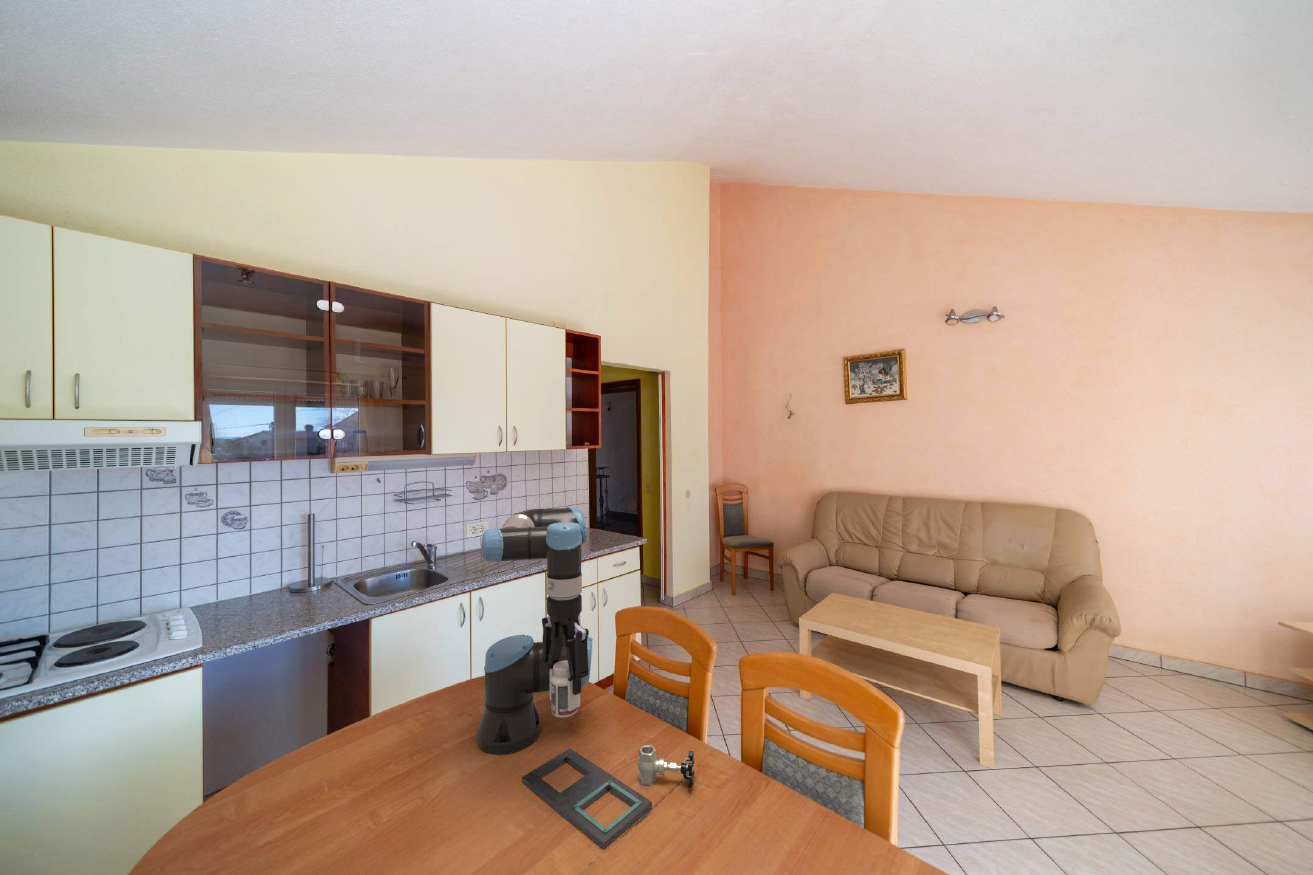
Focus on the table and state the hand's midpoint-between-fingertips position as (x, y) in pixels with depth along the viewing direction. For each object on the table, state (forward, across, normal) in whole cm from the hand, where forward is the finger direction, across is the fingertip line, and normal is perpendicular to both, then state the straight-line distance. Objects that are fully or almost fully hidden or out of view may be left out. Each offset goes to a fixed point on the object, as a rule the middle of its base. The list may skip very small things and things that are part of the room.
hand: (564, 702), depth 103 cm
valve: (+17, +16, +14) cm, 28 cm away
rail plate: (+17, +6, 0) cm, 18 cm away
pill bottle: (+2, 0, 0) cm, 2 cm away
